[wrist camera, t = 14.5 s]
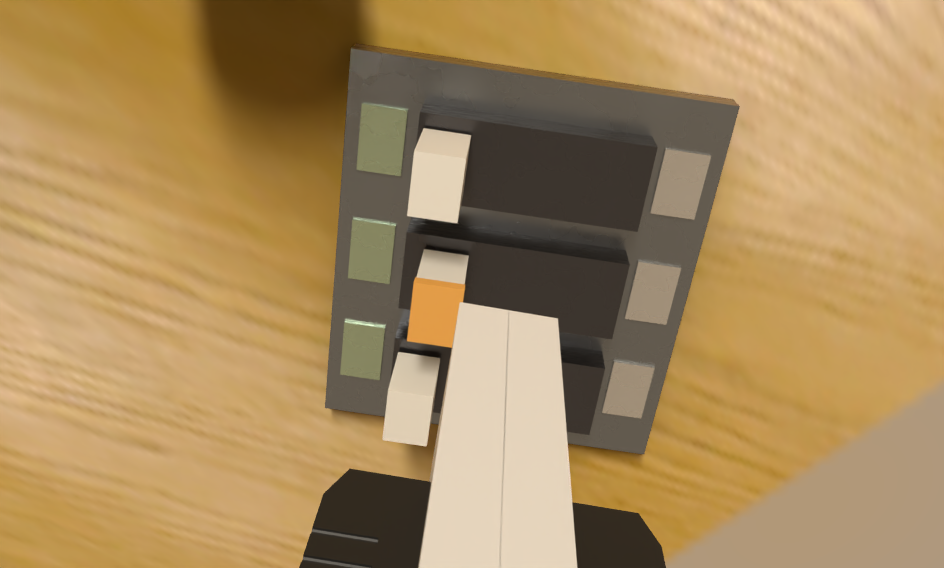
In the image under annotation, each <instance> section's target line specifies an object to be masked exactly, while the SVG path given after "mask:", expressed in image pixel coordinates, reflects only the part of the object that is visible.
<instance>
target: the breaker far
mask: <svg viewBox="0 0 944 568" xmlns="http://www.w3.org/2000/svg"><path fill="white" fill-rule="evenodd" d="M439 365H440V358H436V357H429V356H423V355H416V354H409V353H402V352H398V355H397V359H396V362H395V366H394V370H393V373H392V377H391V381H390V385H389V388H388V395H387V404H386V413H385V422H384V431H383V440H386V441H392V442H399V443H406V444H413V445H420V446H427V442H428V436H429V430H430V425H431V419H432V413H433V407H434V401H435V393H436V386H437V379H438V372H439Z"/></svg>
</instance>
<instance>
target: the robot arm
mask: <svg viewBox="0 0 944 568" xmlns="http://www.w3.org/2000/svg"><path fill="white" fill-rule="evenodd" d="M299 568H666V566H665V561H664V556H663V552H662V547H661V545H660V544H659V542H658V541H657V539H656V538H655V536H654V535H653V534H652V532H651V531H650V529H649V528H648V526H647V525H646V524H645V522H644V521H643V519H642V518H641V516H640V515H639V514H638V513H634V512H628V511H622V510H616V509H609V508H603V507H597V506H591V505H585V504H579V503H573V502H572V494H571V481H570V468H569V455H568V442H567V429H566V416H565V404H564V391H563V378H562V365H561V352H560V339H559V327H558V318H552V317H546V316H540V315H534V314H528V313H522V312H516V311H510V310H504V309H498V308H492V307H486V306H481V305H475V304H469V303H463V302H460V304H459V310H458V315H457V321H456V327H455V333H454V339H453V345H452V350H451V356H450V362H449V368H448V374H447V379H446V385H445V391H444V397H443V403H442V409H441V414H440V420H439V426H438V432H437V438H436V444H435V449H434V456H433V462H432V468H431V475H430V481H429V482H428V481H422V480H415V479H409V478H403V477H397V476H391V475H385V474H379V473H373V472H367V471H361V470H354V469H349V470H348V471H347V472H346V473H345V474H344V475H343V476H342V477H341V478H340V479H339V480H338V481H337V482H335V483H334V484H333V485H332V486H331V487H330V488H329V489H328V490H327V491H326V492H325V493H324V494H323V497H322V500H321V503H320V506H319V509H318V512H317V515H316V518H315V521H314V525H313V528H312V533H311V534H310V537H309V540H308V543H307V546H306V549H305V552H304V555H303V560H302V562H301V564H300V567H299Z"/></svg>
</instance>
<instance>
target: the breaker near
mask: <svg viewBox="0 0 944 568" xmlns="http://www.w3.org/2000/svg"><path fill="white" fill-rule="evenodd" d="M470 141H471V135H467V134H460V133H453V132H447V131H440V130H433V129H426V128H423V131H422V133H421V136H420V138H419V140H418V143H417V145H416V148H415V150H414V157H413V166H412V175H411V184H410V194H409V203H408V212H407V216H410V217H417V218H424V219H431V220H438V221H444V222H451V223H458V218H459V213H460V208H461V202H462V197H463V191H464V184H465V177H466V169H467V162H468V155H469V148H470Z"/></svg>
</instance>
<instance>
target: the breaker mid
mask: <svg viewBox="0 0 944 568" xmlns="http://www.w3.org/2000/svg"><path fill="white" fill-rule="evenodd" d="M468 258H469V256H468V255H461V254H455V253H448V252H441V251H434V250H427V249H424V251H423V255H422V259H421V262H420V266H419V270H418V273H417V277H415V280H414V284H413V293H412V302H411V310H410V319H409V327H408V336H407V341H410V342H416V343H423V344H430V345H437V346H444V347H451V348H452V345H453V339H454V333H455V327H456V321H457V315H458V310H459V304H460V302H463V298H464V291H465V278H466V271H467V265H468Z"/></svg>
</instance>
